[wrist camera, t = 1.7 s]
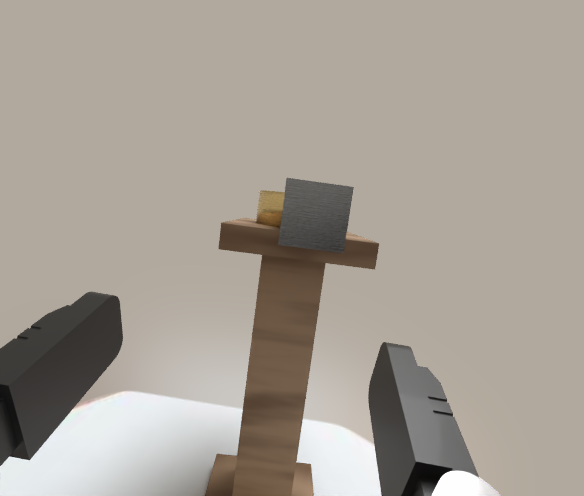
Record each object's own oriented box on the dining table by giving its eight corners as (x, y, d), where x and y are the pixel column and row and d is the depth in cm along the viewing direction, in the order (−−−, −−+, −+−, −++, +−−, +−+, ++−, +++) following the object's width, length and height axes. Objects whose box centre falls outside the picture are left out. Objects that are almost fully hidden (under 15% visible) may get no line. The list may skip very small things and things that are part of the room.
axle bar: (397, 260, 15) (408, 194, 15) (222, 237, 15) (230, 170, 15) (332, 230, 36) (337, 203, 36) (259, 221, 36) (262, 193, 36)
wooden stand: (319, 607, 29) (379, 243, 25) (180, 594, 29) (221, 222, 25) (308, 478, 43) (346, 231, 39) (215, 468, 42) (244, 217, 39)
